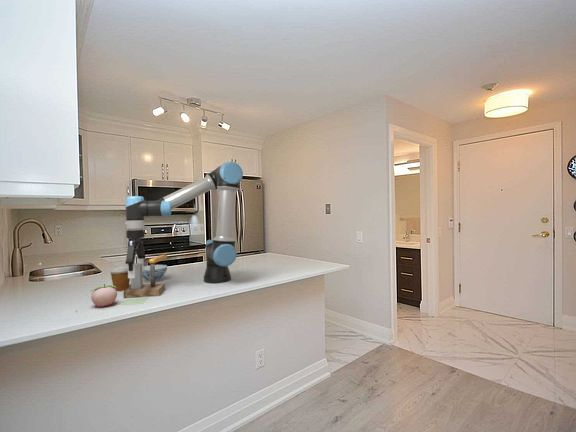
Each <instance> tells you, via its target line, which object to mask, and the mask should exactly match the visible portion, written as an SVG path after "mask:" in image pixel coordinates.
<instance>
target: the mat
mask: <svg viewBox="0 0 576 432" xmlns="http://www.w3.org/2000/svg"><path fill="white" fill-rule="evenodd" d="M147 300H149V297H138V298H126V300H124V301H123V302H122V303H121V304H120V306H129V305H130V306H131V305H142V304H143V305H144V303H146V301H147Z"/></svg>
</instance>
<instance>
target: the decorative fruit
mask: <svg viewBox="0 0 576 432" xmlns="http://www.w3.org/2000/svg"><path fill="white" fill-rule="evenodd" d="M114 287H115V288H117V287H116V286H113V284H112V285H106V284H105V283H104V284H103V286H97V287H95V288H93V289H92V290H91V297H90V300H91V302H92V303H93V304H94V305H95V306H97V307H99V308H104V307H109V306H111V305H112V304H113V303H115V302H116V299H117V297H118V291H116V289H115V288H114Z"/></svg>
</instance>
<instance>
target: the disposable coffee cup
mask: <svg viewBox="0 0 576 432" xmlns="http://www.w3.org/2000/svg"><path fill="white" fill-rule="evenodd" d="M109 273H110V275H111V276H110V277H111V280H112V281H111V282H112V286H116V287H117V288H115V287H114V288H115V289H116V291H117V292H124V291H125V290H126V289H128V288H129V287H130V282H131V278H128V265H120V266H114V267H110V270H109Z"/></svg>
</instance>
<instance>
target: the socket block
mask: <svg viewBox="0 0 576 432" xmlns="http://www.w3.org/2000/svg"><path fill="white" fill-rule="evenodd" d="M149 265H150V278H151V282H150V283H146V284H144V283H143V288H142V289H131V285H129V288H128V289H126V290H125V291H122V293H123V299H134V298H150V297H160V296H161V295H162V294H163V292H164V291H165V290H166V284H165V283H164V282H163V283H162V282H160V283H156V282H155V265H156V263H149Z"/></svg>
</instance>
